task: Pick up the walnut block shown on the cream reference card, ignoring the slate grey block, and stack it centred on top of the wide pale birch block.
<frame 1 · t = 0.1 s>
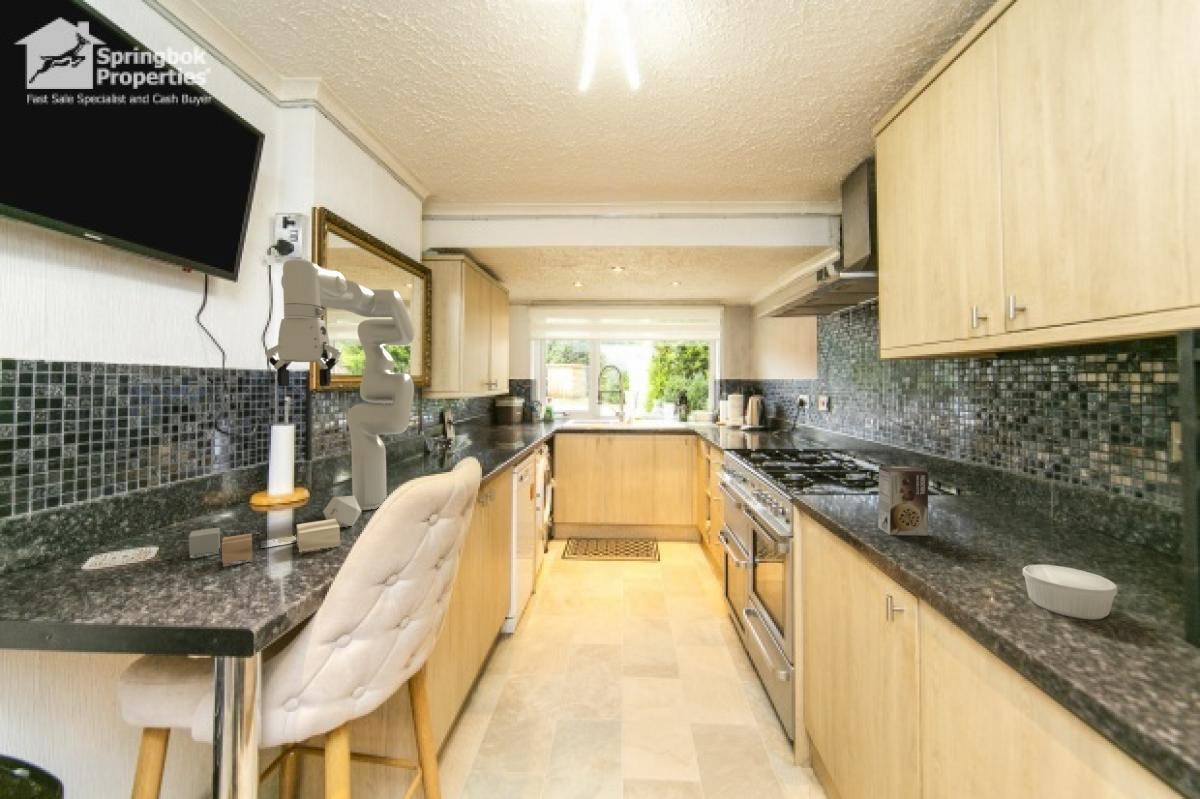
hand: (304, 386, 115), 37 cm above the countertop, tool pointing down, fingers open, 9 cm apart
die: (343, 526, 127), on the countertop
birch base block: (318, 546, 112), on the countertop
cookie box: (902, 532, 121), on the countertop
ramekin: (1066, 608, 80), on the countertop
reference card: (280, 542, 114), on the countertop
slate block: (205, 554, 107), on the countertop
walnut block: (238, 561, 102), on the countertop
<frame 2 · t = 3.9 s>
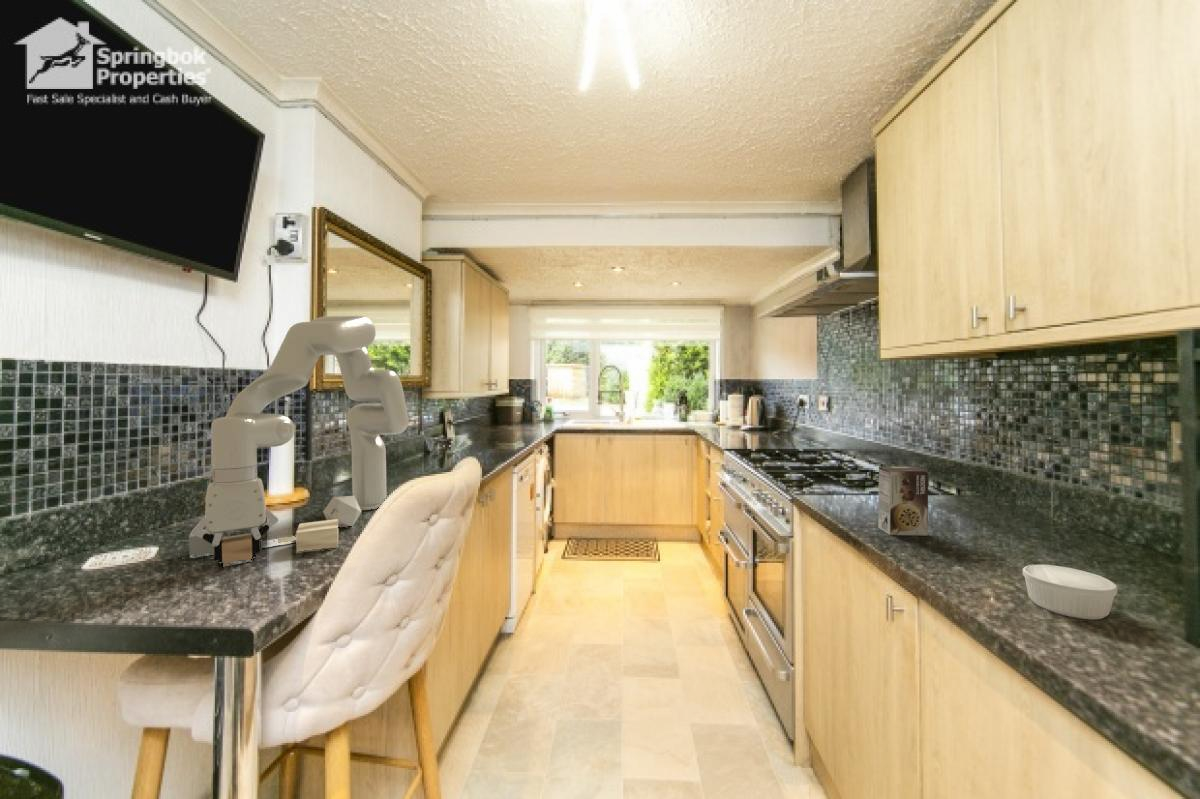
hand: (237, 558, 102), 0 cm above the countertop, tool pointing down, fingers closed on walnut block, 4 cm apart
walnut block: (237, 561, 102), on the countertop, touching gripper
everything else where it was.
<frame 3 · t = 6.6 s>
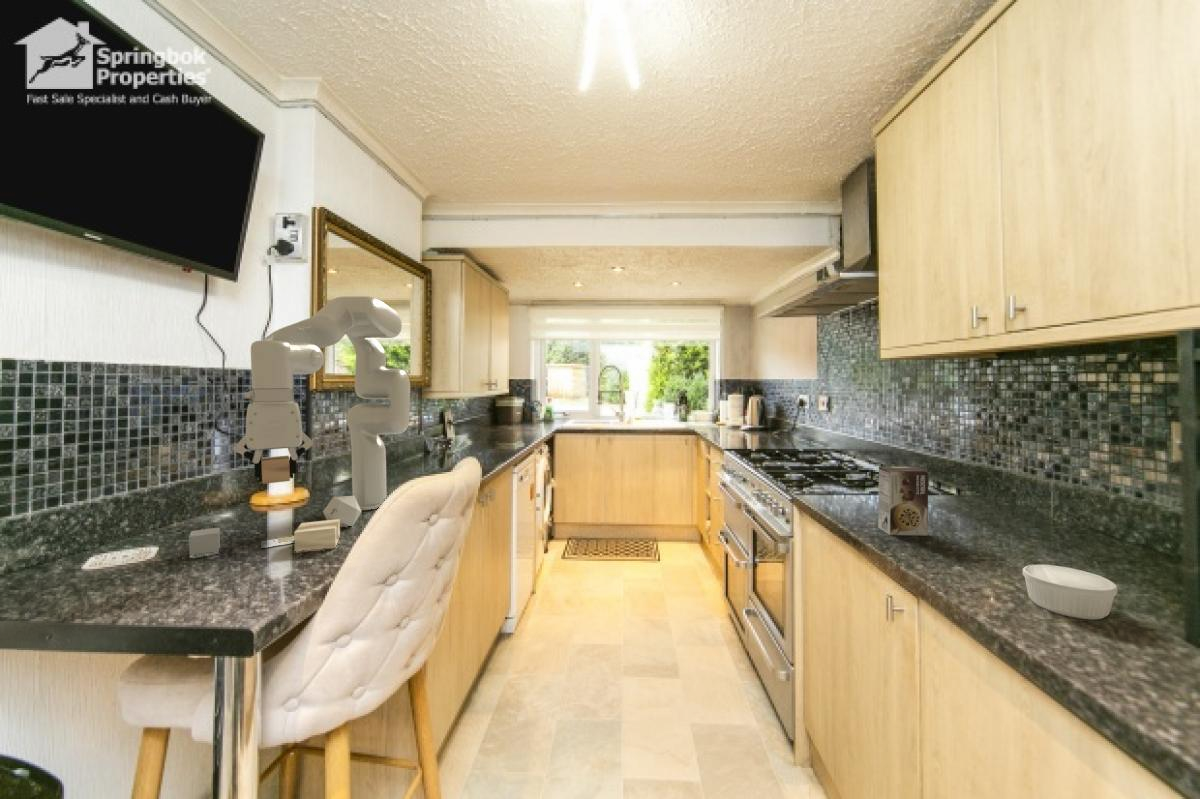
hand: (276, 478, 107), 17 cm above the countertop, tool pointing down, fingers closed on walnut block, 4 cm apart
walnut block: (276, 480, 107), point 16 cm above the countertop, touching gripper
everything else where it was.
when the fingers open (6 cm above the countertop, at t = 9.1 s): walnut block drops 1 cm, resting on birch base block.
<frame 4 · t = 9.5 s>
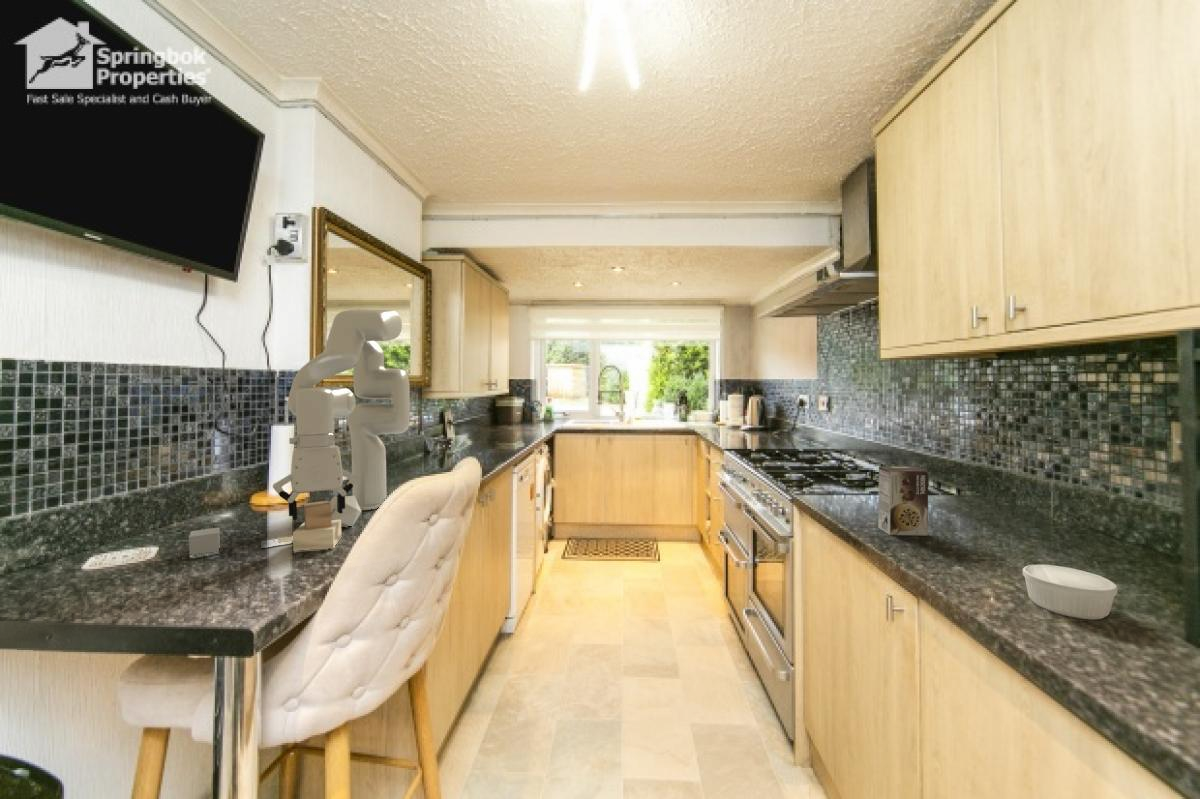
hand: (317, 515, 112), 7 cm above the countertop, tool pointing down, fingers open, 8 cm apart
birch base block: (318, 546, 112), on the countertop, touching walnut block
walnut block: (318, 525, 112), point 5 cm above the countertop, touching birch base block
everything else where it was.
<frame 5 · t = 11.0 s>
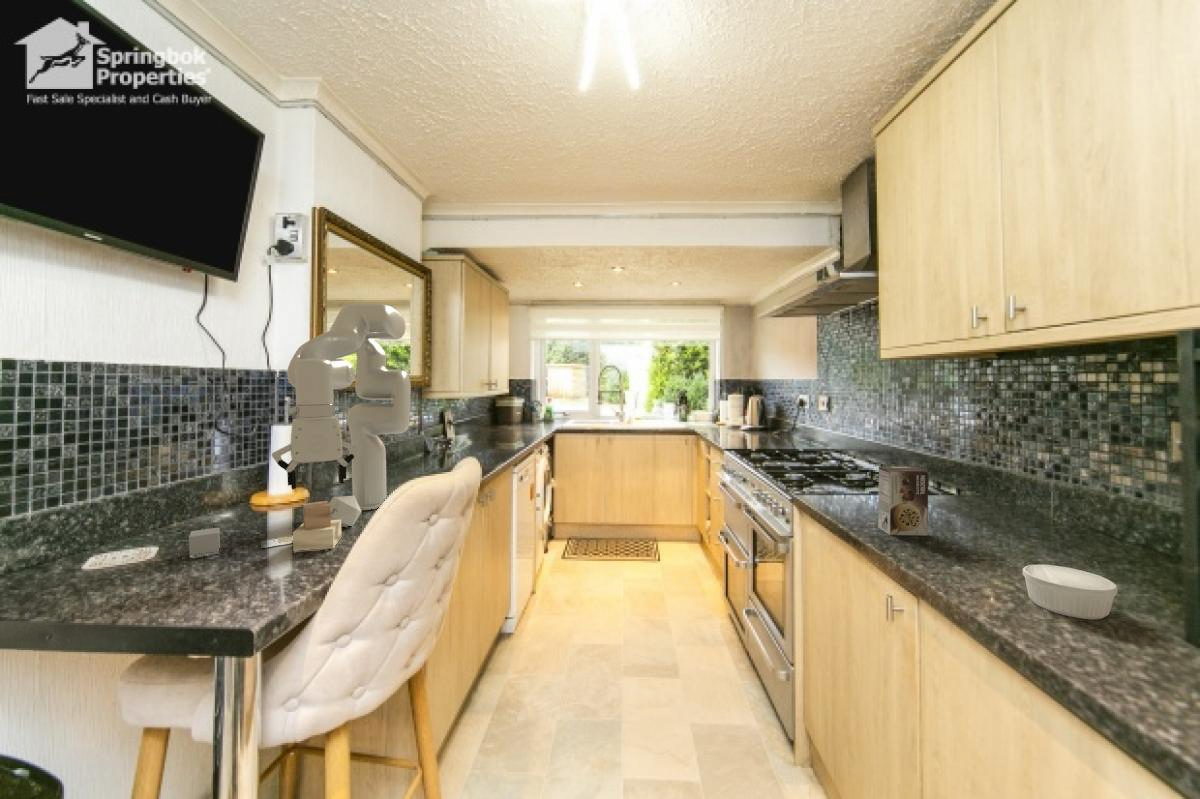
hand: (317, 485, 112), 14 cm above the countertop, tool pointing down, fingers open, 9 cm apart
nothing on the countertop moved.
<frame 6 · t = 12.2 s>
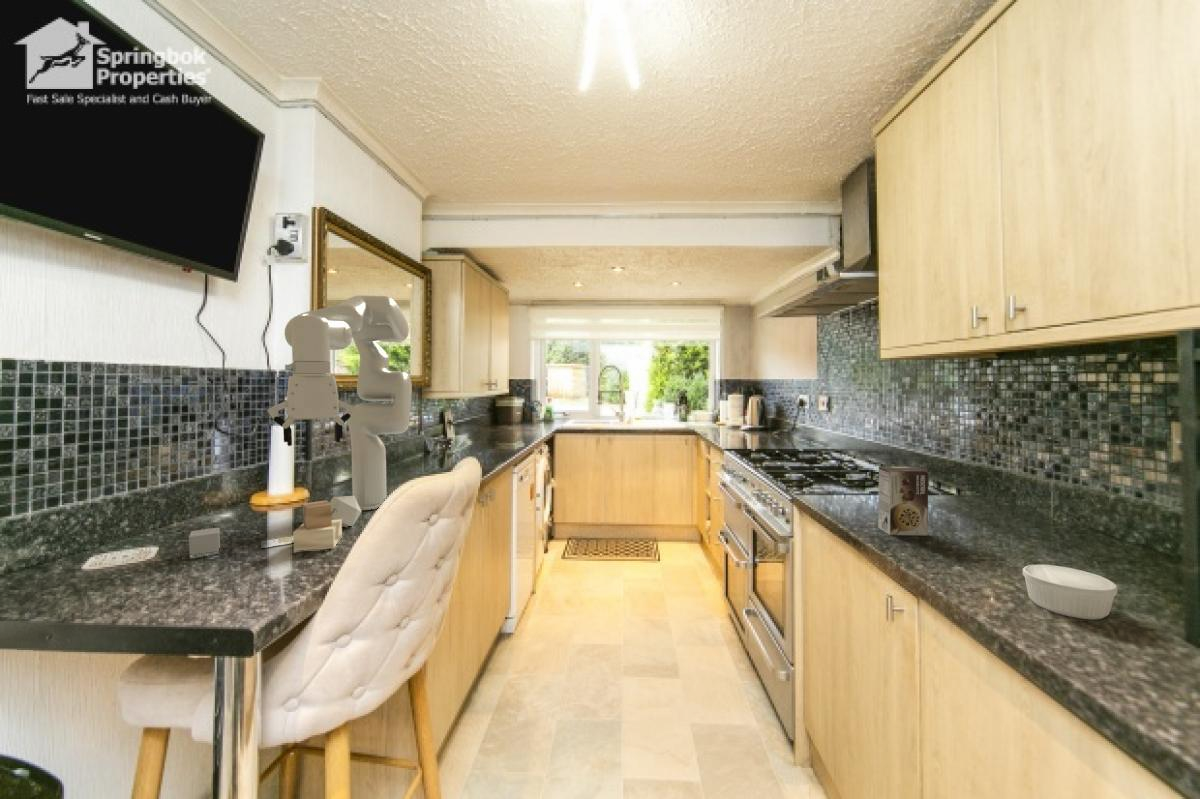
hand: (314, 443, 112), 24 cm above the countertop, tool pointing down, fingers open, 9 cm apart
nothing on the countertop moved.
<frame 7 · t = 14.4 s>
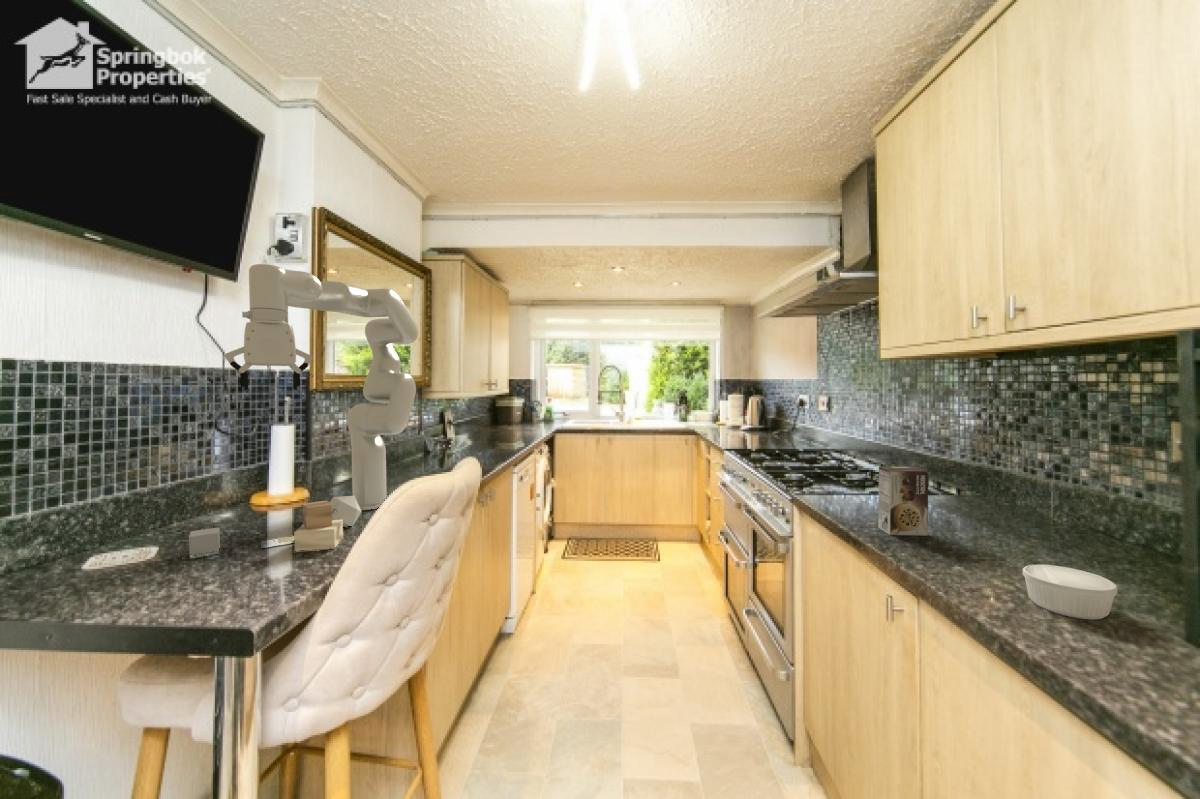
hand: (271, 390, 115), 36 cm above the countertop, tool pointing down, fingers open, 9 cm apart
nothing on the countertop moved.
at the end: walnut block 0.6 cm off-centre on the birch base block, point 5.0 cm above the birch base block's base; walnut block tilted 0°; walnut block touching birch base block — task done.
